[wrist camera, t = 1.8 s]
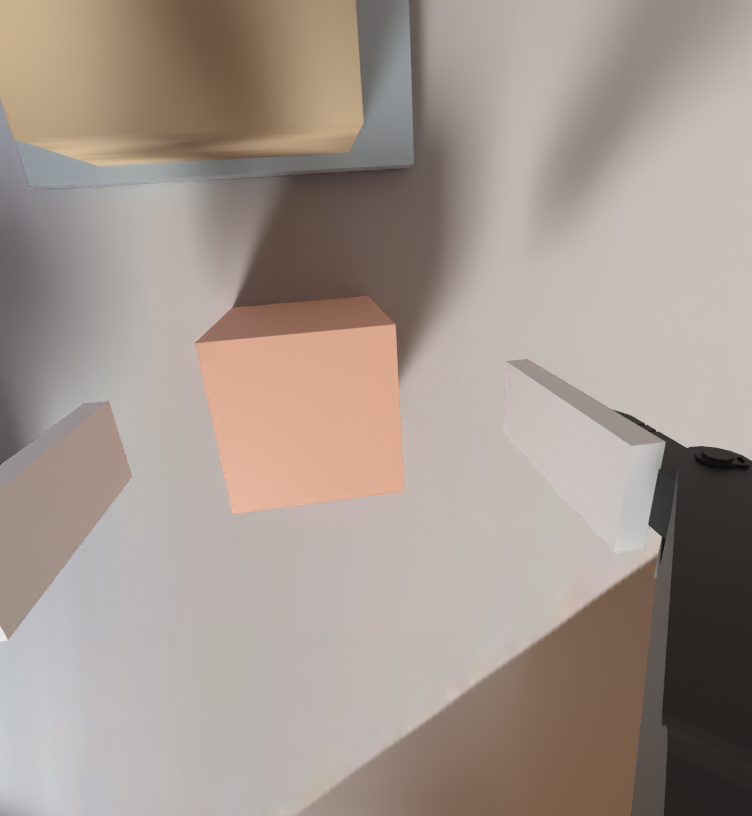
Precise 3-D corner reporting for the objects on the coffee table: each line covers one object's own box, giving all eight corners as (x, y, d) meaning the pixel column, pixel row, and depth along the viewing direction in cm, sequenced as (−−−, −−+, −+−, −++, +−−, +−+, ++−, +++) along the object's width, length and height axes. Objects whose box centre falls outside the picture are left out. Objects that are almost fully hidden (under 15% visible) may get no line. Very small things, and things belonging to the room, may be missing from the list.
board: (47, 188, 17) (29, 185, 16) (-67, -183, 13) (-101, -221, 12) (407, 168, 18) (414, 164, 17) (395, -174, 15) (402, -206, 14)
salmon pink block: (255, 431, 22) (232, 514, 15) (233, 307, 20) (194, 343, 13) (376, 417, 22) (403, 491, 16) (368, 295, 20) (395, 324, 14)
